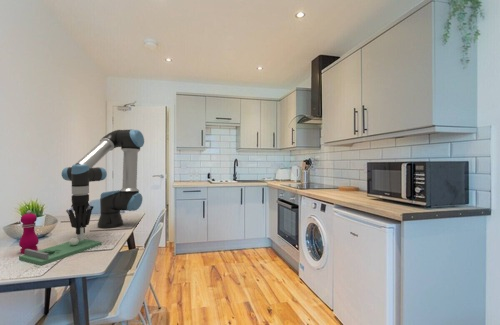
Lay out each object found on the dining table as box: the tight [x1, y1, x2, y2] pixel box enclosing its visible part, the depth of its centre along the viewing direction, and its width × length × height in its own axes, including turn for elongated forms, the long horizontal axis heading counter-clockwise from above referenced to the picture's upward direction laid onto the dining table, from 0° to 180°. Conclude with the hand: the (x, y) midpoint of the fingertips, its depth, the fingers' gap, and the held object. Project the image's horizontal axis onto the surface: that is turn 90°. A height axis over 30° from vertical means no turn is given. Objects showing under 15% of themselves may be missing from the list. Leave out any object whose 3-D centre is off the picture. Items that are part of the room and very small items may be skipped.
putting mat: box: [18, 238, 102, 266], centre depth 125 cm, size 28×16×4 cm, turn 158°
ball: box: [68, 236, 79, 245], centre depth 129 cm, size 4×4×4 cm
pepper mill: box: [18, 209, 40, 255], centre depth 125 cm, size 7×7×20 cm
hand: (80, 240), depth 132 cm, fingers closed
